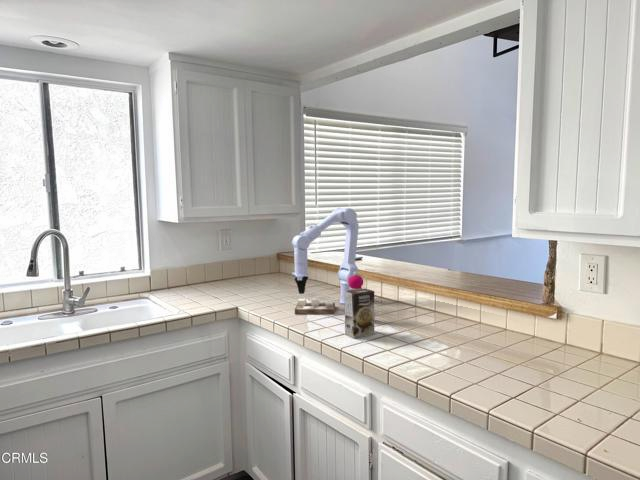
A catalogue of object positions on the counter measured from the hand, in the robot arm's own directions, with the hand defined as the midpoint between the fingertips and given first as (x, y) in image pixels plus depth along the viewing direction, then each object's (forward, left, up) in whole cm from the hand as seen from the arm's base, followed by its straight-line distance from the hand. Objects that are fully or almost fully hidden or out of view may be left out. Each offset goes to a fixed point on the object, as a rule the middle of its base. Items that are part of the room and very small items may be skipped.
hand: (301, 293), depth 196 cm
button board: (-6, +1, -7) cm, 10 cm away
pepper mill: (-24, +17, -8) cm, 30 cm away
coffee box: (-25, +34, -8) cm, 43 cm away
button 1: (0, 0, -6) cm, 6 cm away
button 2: (-12, 0, -7) cm, 14 cm away
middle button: (-6, 0, -6) cm, 8 cm away
